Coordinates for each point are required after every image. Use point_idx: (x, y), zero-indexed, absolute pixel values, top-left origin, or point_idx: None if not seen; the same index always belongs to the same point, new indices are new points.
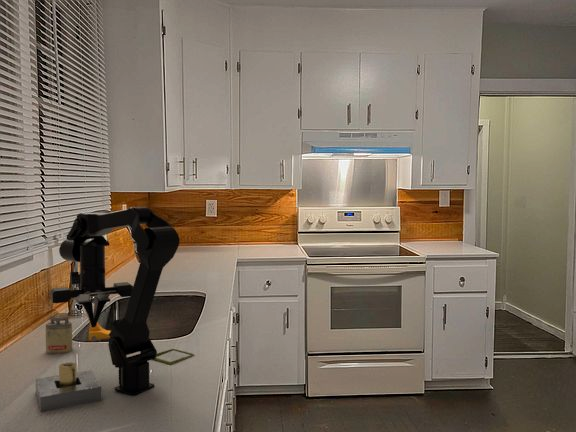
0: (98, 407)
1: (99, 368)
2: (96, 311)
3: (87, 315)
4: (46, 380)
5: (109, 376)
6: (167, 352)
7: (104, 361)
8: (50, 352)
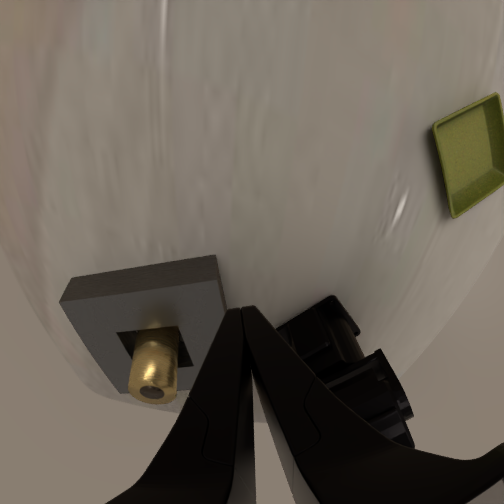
0: None
1: (248, 108)
2: (284, 468)
3: (196, 388)
4: (92, 322)
5: (275, 213)
6: (480, 103)
7: (276, 26)
8: None
